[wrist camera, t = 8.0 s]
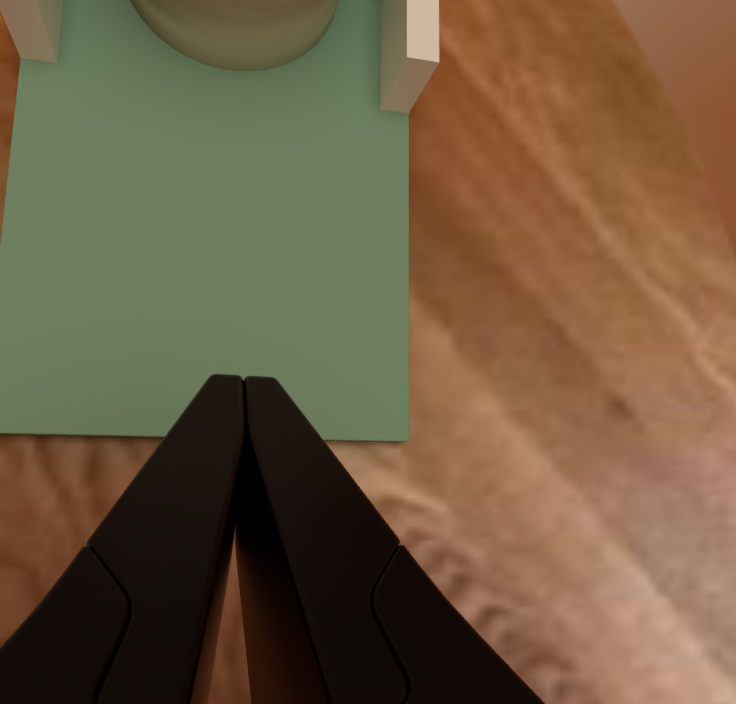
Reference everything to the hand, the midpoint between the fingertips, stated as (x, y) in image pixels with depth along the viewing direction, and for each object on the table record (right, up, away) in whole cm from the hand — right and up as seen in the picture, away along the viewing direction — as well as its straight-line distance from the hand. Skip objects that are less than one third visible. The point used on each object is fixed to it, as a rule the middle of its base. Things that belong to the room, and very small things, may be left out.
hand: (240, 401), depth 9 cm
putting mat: (-3, +9, +13) cm, 16 cm away
